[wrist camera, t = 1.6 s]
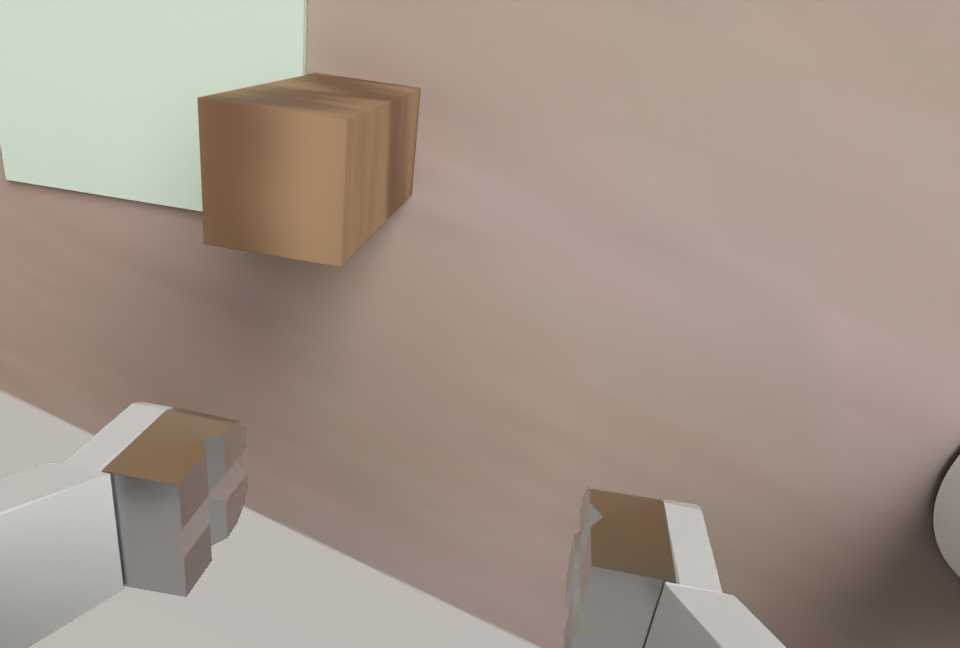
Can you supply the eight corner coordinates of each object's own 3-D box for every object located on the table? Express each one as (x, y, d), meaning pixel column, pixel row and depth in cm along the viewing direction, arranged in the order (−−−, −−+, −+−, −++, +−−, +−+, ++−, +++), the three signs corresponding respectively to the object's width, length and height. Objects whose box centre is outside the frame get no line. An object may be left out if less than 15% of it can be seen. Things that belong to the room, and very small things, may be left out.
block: (420, 88, 32) (347, 120, 22) (411, 194, 34) (341, 266, 24) (316, 73, 32) (197, 97, 22) (313, 178, 34) (204, 244, 24)
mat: (310, -202, 28) (306, -205, 28) (303, 225, 35) (300, 227, 35) (-57, -245, 29) (-65, -248, 29) (11, 177, 37) (6, 179, 36)
